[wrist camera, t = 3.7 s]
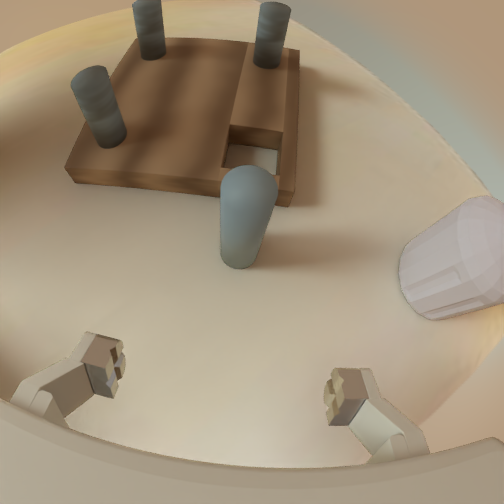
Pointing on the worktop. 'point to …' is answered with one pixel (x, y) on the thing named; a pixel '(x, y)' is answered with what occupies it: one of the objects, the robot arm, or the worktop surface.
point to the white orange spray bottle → (457, 262)
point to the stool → (188, 108)
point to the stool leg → (245, 213)
